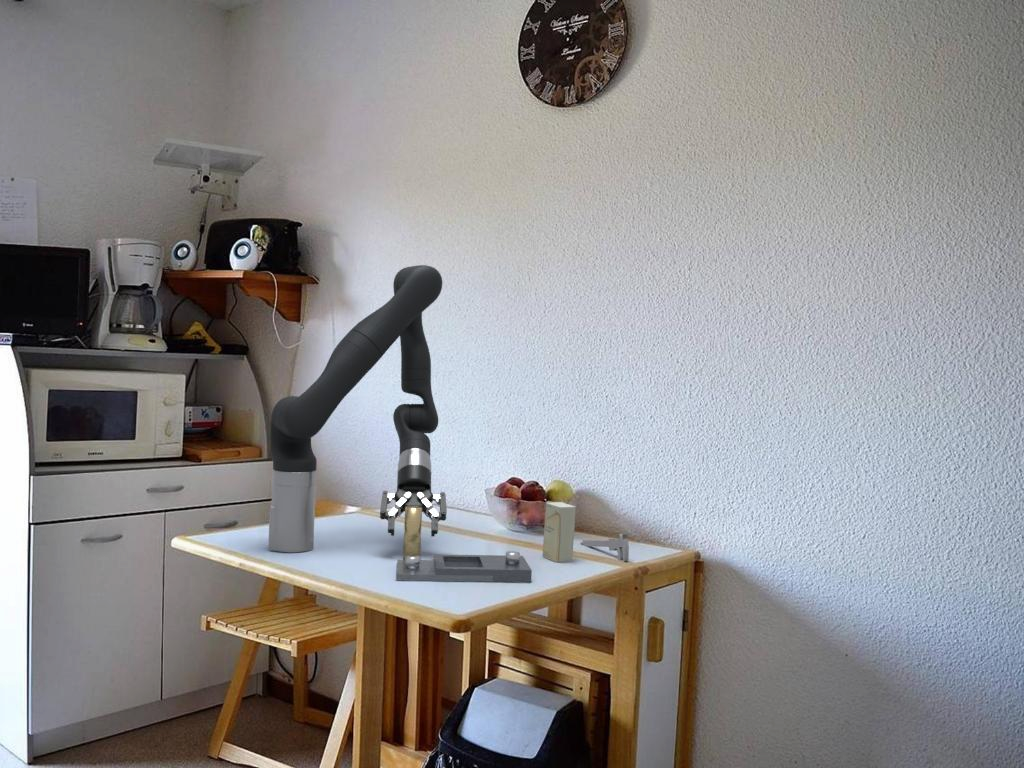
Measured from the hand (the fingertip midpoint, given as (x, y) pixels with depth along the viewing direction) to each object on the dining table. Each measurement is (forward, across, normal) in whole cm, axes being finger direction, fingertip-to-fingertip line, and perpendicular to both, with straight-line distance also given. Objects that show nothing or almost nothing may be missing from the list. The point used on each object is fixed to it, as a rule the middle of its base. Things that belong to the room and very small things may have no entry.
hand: (412, 534), depth 188 cm
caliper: (-4, +44, +12) cm, 46 cm away
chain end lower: (+12, +6, -5) cm, 14 cm away
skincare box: (+2, +32, +6) cm, 33 cm away
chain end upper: (+12, +14, -5) cm, 19 cm away
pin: (+3, 0, +5) cm, 6 cm away
